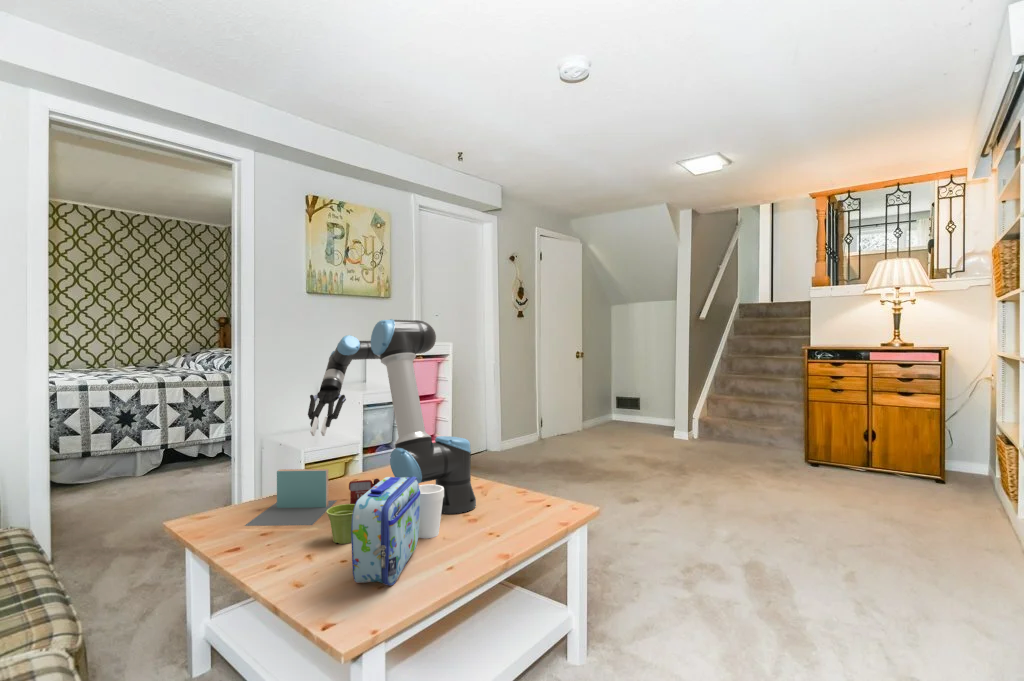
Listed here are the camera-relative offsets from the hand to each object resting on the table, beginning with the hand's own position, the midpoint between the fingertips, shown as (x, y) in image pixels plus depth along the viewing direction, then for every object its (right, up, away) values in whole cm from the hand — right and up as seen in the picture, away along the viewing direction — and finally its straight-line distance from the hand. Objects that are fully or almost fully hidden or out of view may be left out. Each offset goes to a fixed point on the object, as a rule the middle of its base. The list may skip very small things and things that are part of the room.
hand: (317, 433), depth 188 cm
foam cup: (+45, -22, -38) cm, 63 cm away
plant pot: (+23, -22, -42) cm, 53 cm away
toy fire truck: (+23, -22, -17) cm, 37 cm away
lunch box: (+40, -22, -59) cm, 75 cm away
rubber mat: (0, -22, -20) cm, 30 cm away
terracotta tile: (0, -22, -14) cm, 26 cm away
